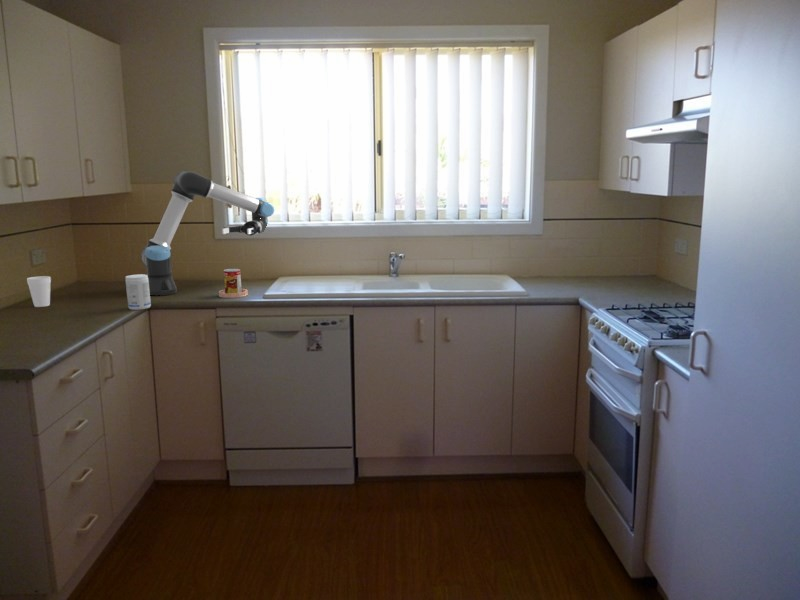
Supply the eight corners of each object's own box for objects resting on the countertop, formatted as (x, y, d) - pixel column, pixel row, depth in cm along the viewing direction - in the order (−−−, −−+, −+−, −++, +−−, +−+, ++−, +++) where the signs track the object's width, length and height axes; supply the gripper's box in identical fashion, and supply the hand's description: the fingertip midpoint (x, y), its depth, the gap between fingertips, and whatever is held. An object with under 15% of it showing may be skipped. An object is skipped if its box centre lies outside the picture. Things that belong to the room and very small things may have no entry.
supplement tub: (147, 305, 301) (144, 273, 298) (154, 308, 293) (151, 275, 291) (125, 307, 295) (122, 275, 292) (132, 311, 287) (128, 278, 285)
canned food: (226, 292, 326) (225, 269, 323) (242, 292, 327) (241, 268, 324) (224, 295, 318) (222, 271, 316) (240, 295, 319) (238, 270, 316)
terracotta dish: (213, 297, 317) (213, 293, 317) (226, 292, 330) (226, 288, 330) (240, 298, 314) (240, 294, 314) (252, 292, 328) (252, 288, 327)
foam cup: (28, 305, 303) (25, 277, 300) (50, 302, 309) (47, 275, 306) (33, 308, 296) (29, 280, 293) (55, 305, 301) (52, 277, 299)
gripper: (274, 235, 350) (258, 239, 330) (230, 234, 355) (212, 238, 335) (273, 221, 349) (258, 224, 328) (230, 220, 354) (211, 223, 333)
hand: (235, 231), depth 331 cm, fingers open, 13 cm apart
